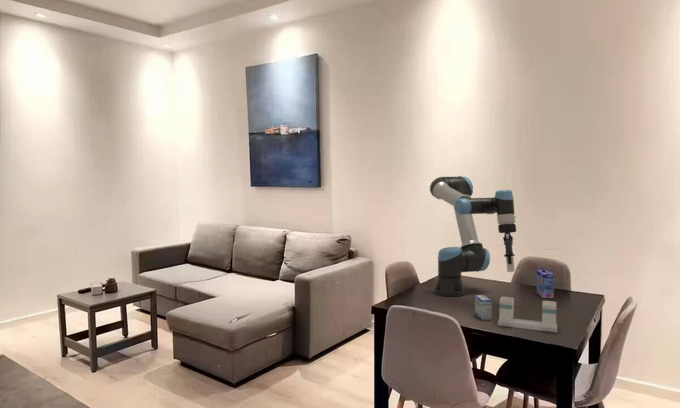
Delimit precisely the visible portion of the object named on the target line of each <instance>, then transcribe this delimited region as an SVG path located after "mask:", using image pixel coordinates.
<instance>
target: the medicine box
mask: <svg viewBox="0 0 680 408" xmlns="http://www.w3.org/2000/svg"><path fill="white" fill-rule="evenodd" d="M492 305H493V304H492V299H490V298H488V297H487V296H486V295H484V294H479V295H475V296H474V315H475V316H476V317H477V318H479V319H480V320H481V321H490V320H492Z"/></svg>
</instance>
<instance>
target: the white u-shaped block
mask: <svg viewBox="0 0 680 408" xmlns="http://www.w3.org/2000/svg"><path fill="white" fill-rule="evenodd" d="M514 300H515V298H514V297H510V296H501V297H500V299H499V306H498V307H499V309H498V310H499V311H498V312H499V313H498V314H499V315H498V316H499V318H498V321H497V326H498V327H507V328H515V329H522V330H529V331H530V330H534V331H541V332H547V333H554V334H555V333H557V334H558V323H557V301H552V300H542V304H541V305H542V307H541V311H542V312H541V314H542V315H541V321H538V320H530V319H521V318H514V313H515V311H514V309H515V308H514V307H515V306H514V305H515V301H514Z"/></svg>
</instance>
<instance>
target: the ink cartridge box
mask: <svg viewBox="0 0 680 408" xmlns="http://www.w3.org/2000/svg"><path fill="white" fill-rule="evenodd" d="M540 268H541V269H536V294H538V295H539V296H540V297H541V298H542V299H554V296H555V294H554V293H555V292H554V291H555V290H554V285H555V284H554V282H555V281H554V279H555V278H554V273H553V272H551V271H549V270H548V269H545V268H544V267H543V266H540Z"/></svg>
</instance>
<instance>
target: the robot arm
mask: <svg viewBox="0 0 680 408" xmlns="http://www.w3.org/2000/svg"><path fill="white" fill-rule="evenodd" d="M429 191H430V194H431V196H433V197H434V198H435V199H437V200H442V201H444V202H445V203H447V204H449V205H451V206H453V210H454V214H455V219H456V223H457V228H458V232H459V237H460V242H461V246H449V247H442V248H441V249H440V250H439V251H438V252H437V253H438V255H437V267H438V268H437V274H438V275H437V280H436V283H435V285H434V286H435V287H434V294H436V295H439V296H443V297H461V296H463V295H465V293H466V292H465V287H464V286H465V285H464V282H463V280H462V273H469V272H470V273H471V272H477V273H478V272H484V271H486V270H487V269H488V267H489V266H490V261H491V255H490V251H489V250H488V249H487V248H484V245H483V243H481V242H480V241H479V238H478V234H477V231H476V230H477V229H476V226H475V221H474V216H473V215H482V214H483V215H484V214H486V215H493V214H496V219H497V224H499V225H497V228H498V233H499V234H504V235H503V237H502V239H503V243H504V246H505V247H504V248H505V254H504V256H503V257H504V258H506V259H505V260H506V261H505V262H506V272H507V273H514V272H515V261H514V257H515V254H514V252H513V242H514V241H513V240H514V239H513V238H514V237H513V236H512V235H511V234H512V233H516V232H517V224H516V218H517V215H515V203H514V195H513V191H512V190H511V189H500V190H497V191H495V195H494V196H493V197H472V196H473V194H474V186H473V182H472V180H471V179H470V178H469V177H467V176H461V175H459V176H439V177H437V178H435V179H434V180H432V181H431V183H430V185H429Z"/></svg>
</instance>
